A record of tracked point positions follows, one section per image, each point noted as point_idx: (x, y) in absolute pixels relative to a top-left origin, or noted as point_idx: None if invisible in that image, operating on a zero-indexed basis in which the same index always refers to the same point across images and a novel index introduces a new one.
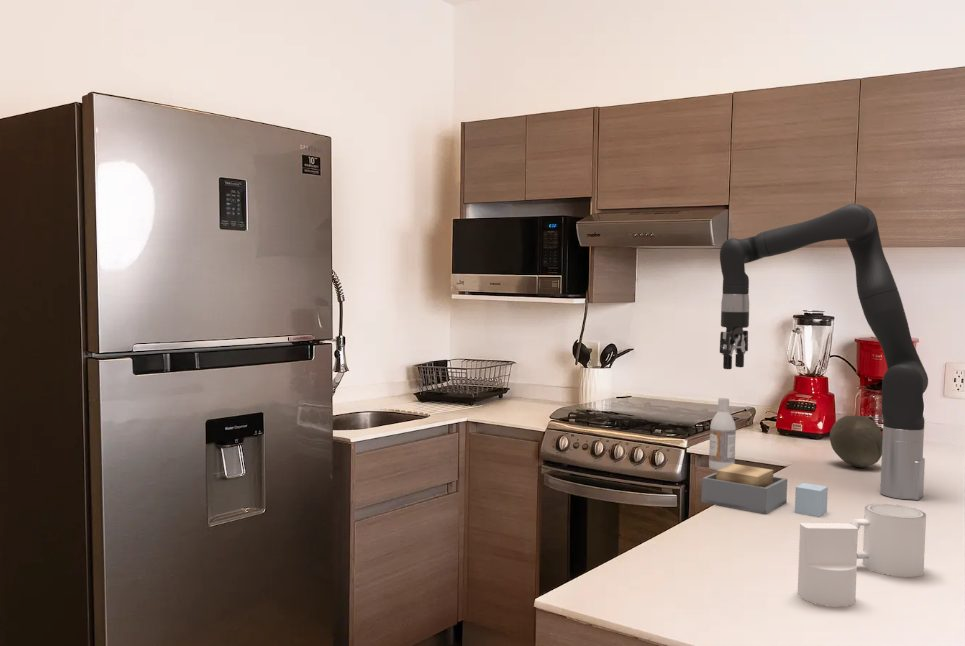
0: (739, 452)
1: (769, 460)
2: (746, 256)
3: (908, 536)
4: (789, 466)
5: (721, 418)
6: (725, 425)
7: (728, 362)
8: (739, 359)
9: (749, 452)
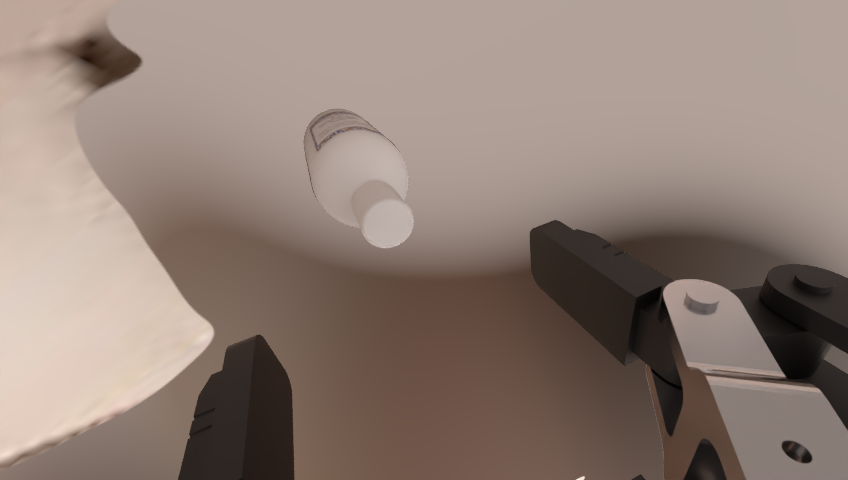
0: (84, 284)
1: (57, 152)
2: None
3: None
4: (47, 36)
5: (402, 173)
6: (393, 147)
7: (618, 250)
8: (272, 428)
9: (38, 274)
